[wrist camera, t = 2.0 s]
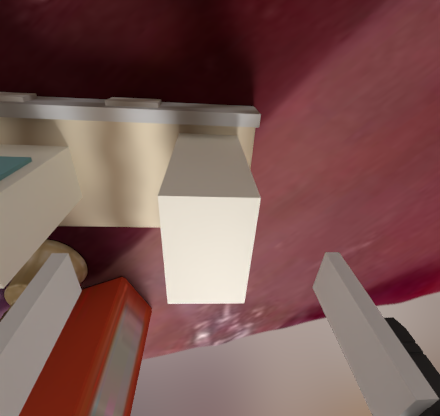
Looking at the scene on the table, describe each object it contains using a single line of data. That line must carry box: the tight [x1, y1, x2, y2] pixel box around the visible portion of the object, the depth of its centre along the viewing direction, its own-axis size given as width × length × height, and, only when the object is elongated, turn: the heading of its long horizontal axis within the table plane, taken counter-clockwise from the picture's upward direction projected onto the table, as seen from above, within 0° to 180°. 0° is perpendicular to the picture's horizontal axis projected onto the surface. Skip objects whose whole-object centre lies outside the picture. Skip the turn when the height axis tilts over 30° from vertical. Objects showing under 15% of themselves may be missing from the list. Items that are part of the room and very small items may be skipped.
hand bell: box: [0, 239, 87, 322], centre depth 24 cm, size 8×8×16 cm
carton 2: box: [158, 133, 261, 304], centre depth 19 cm, size 8×5×11 cm, turn 177°
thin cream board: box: [0, 92, 261, 227], centre depth 23 cm, size 24×12×4 cm, turn 87°
